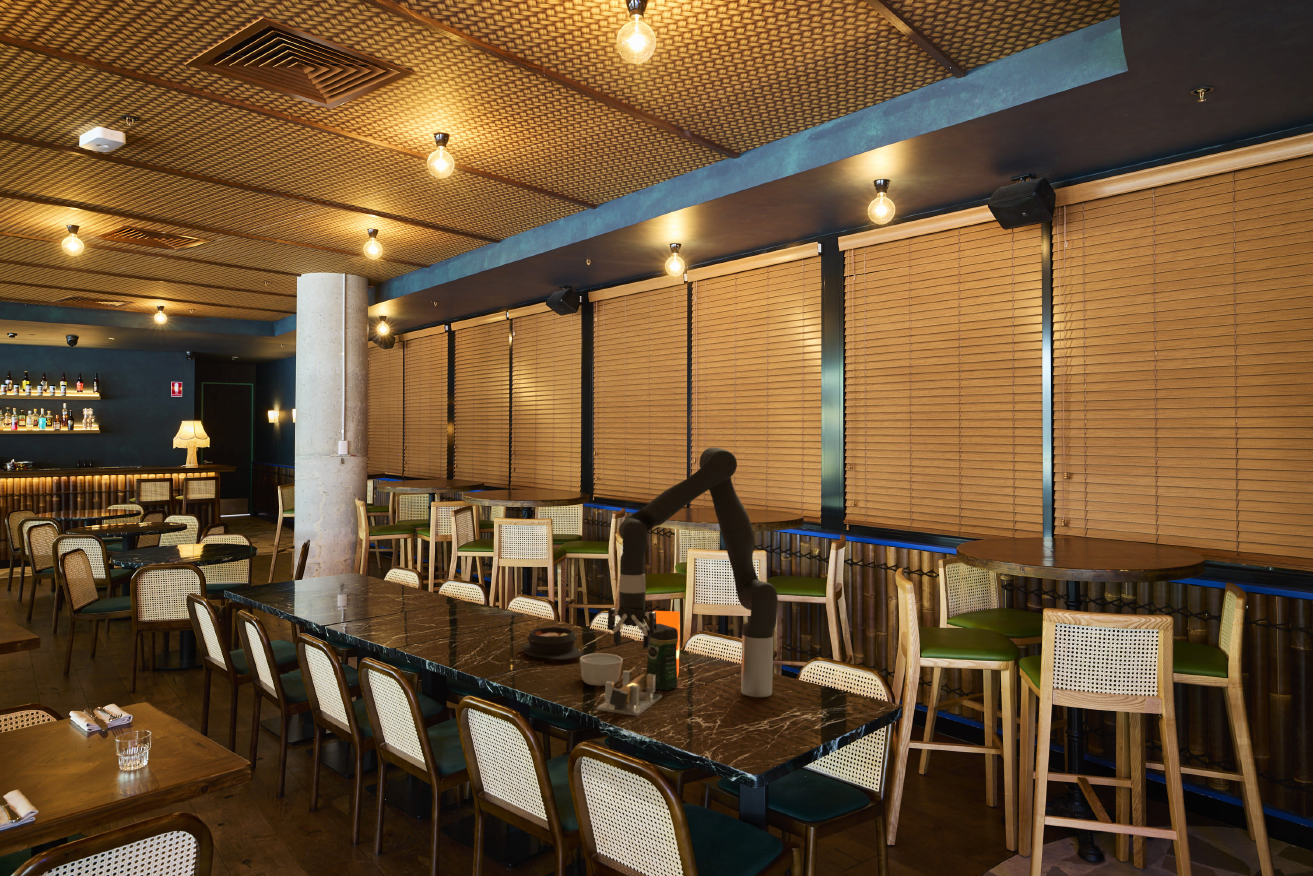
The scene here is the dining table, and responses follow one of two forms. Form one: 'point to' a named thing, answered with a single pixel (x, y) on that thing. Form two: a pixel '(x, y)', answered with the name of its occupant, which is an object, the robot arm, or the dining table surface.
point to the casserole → (552, 644)
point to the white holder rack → (631, 696)
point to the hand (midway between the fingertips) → (631, 646)
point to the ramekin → (600, 668)
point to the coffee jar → (663, 657)
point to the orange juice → (672, 621)
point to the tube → (627, 691)
